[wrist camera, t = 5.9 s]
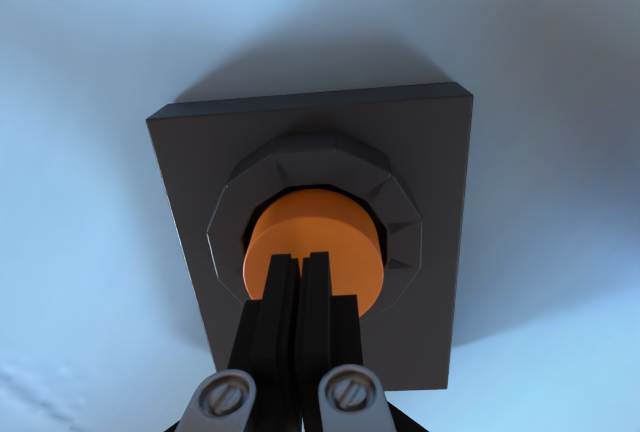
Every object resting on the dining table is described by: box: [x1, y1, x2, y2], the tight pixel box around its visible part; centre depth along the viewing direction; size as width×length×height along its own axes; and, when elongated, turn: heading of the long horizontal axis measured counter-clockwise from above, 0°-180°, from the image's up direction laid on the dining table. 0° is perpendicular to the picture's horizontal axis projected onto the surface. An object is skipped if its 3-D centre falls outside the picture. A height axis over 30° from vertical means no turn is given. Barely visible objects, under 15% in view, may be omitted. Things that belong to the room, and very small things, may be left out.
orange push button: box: [243, 189, 384, 317], centre depth 14 cm, size 4×4×2 cm
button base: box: [146, 82, 473, 391], centre depth 17 cm, size 14×11×4 cm
